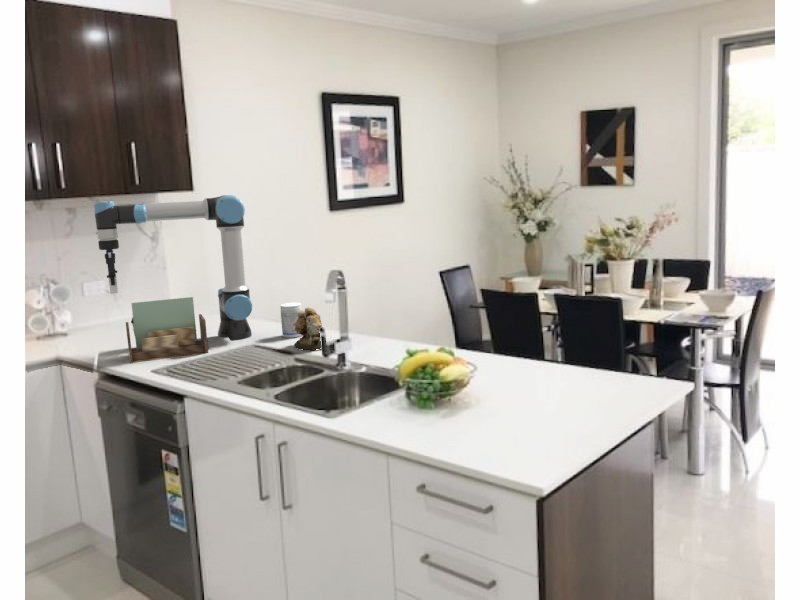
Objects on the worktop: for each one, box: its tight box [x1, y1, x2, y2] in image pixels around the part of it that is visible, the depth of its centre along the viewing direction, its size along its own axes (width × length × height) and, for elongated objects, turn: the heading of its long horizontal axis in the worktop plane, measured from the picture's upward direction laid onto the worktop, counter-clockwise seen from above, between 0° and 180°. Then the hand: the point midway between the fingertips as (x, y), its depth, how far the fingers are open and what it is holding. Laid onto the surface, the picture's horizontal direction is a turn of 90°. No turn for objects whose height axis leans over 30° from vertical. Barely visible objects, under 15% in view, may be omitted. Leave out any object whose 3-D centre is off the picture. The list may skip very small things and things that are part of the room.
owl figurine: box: [293, 306, 323, 351], centre depth 290 cm, size 18×12×17 cm, turn 41°
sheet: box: [131, 296, 198, 349], centre depth 285 cm, size 24×1×22 cm, turn 112°
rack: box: [125, 314, 209, 364], centre depth 281 cm, size 30×14×16 cm, turn 112°
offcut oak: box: [148, 327, 195, 346], centre depth 284 cm, size 18×1×10 cm, turn 112°
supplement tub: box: [279, 302, 303, 339], centre depth 313 cm, size 10×10×15 cm
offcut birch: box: [141, 335, 179, 352], centre depth 279 cm, size 14×1×8 cm, turn 112°
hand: (114, 291), depth 283 cm, fingers open, 13 cm apart
